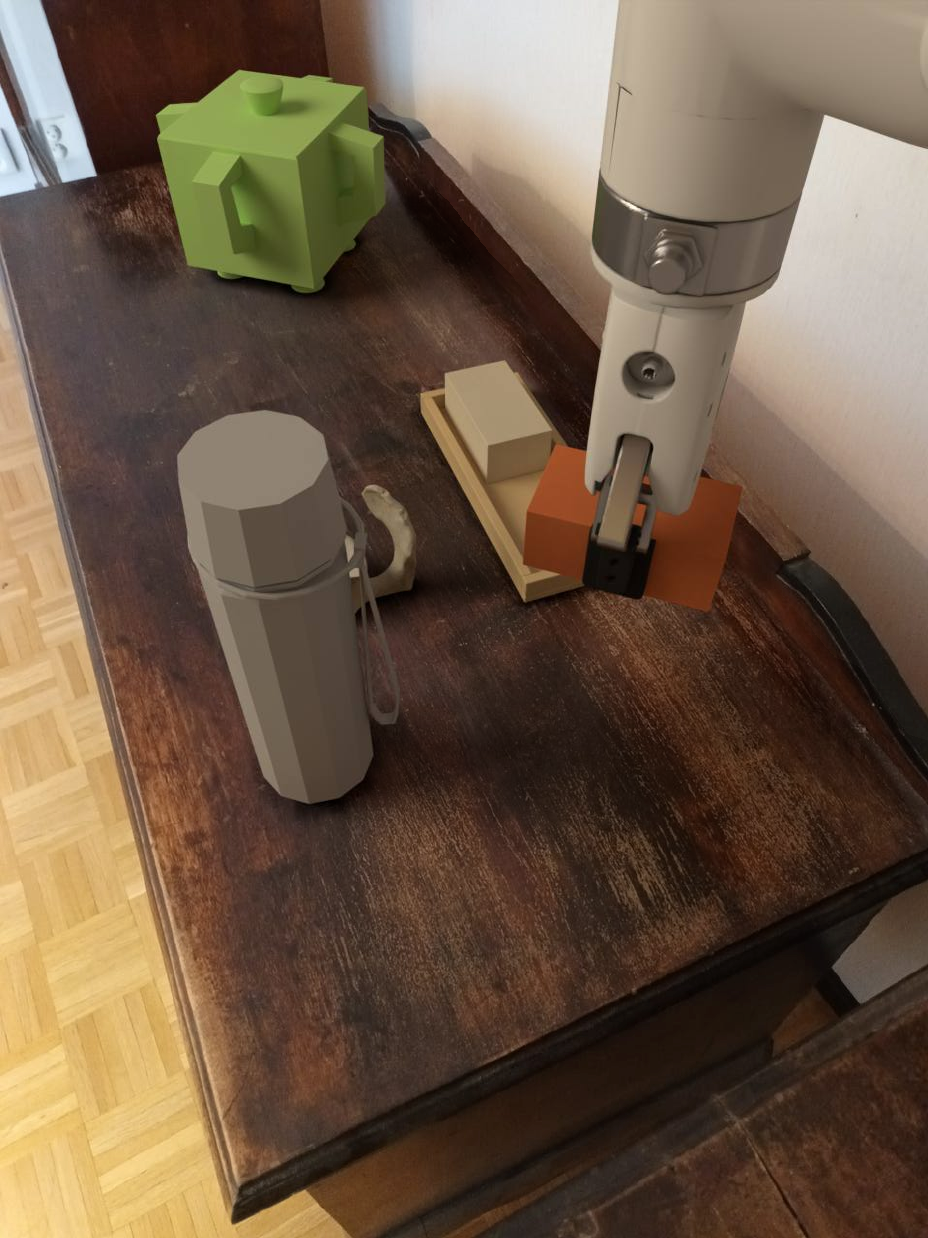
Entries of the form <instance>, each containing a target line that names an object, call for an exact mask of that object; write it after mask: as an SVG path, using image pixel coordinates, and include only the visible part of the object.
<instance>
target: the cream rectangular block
mask: <svg viewBox="0 0 928 1238" xmlns="http://www.w3.org/2000/svg"><path fill="white" fill-rule="evenodd" d="M514 373H515V372H514V371H513V370H512V368H511V367H510V365H509V364H508V363H507V361H506V359H505V360H500V361H499V360H498V361H495V362H491V363H486V364H482V365H476V366H472V367H467V368H462V369H459V370H458V369H457V370H453V371H448V372H445V373H444V388H445V412H446V414H447V415H448V417H449V419H450V421H451V422H452V424H453V426H454V428H455V429H456V431H457V433H458V435H459V436H460V438H461V440H462V442H463V443H464V445H465V447H466V449H467V450H468V452H469V454H470V456H471V457H472V459H473V461H474V463H475V464H476V466H477V468H478V470H479V471H480V473H481V475H482V477H483V478H484V480H485V482H486V484H488V483H492V482H496V481H500V480H504V479H508V478H512V477H516V476H520V475H524V474H528V473H532V472H536V471H540V470H544V469H545V468H546V466H547V464H548V461H549V459H550V449H551V439H552V429H551V427H550V426H549V424H548V423H547V422H546V420H545V419H544V417H543V416H542V414H541V413H540V411H539V410H538V408H537V407H536V405H535V404H534V402H533V401H532V399H531V398H530V396H529V395H528V393H527V392H526V390H525V389H524V388H523V386H522V385H521V383H520V382H519V380H518V379H517V377H516V376H515V374H514Z"/></svg>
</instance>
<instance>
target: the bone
mask: <svg viewBox="0 0 928 1238" xmlns="http://www.w3.org/2000/svg"><path fill="white" fill-rule="evenodd" d="M361 496H362V499H363V500H364V502H365V504H366V506H367V508H368V509H369V511H370V512H371V514H372V515H373V516H374V517H375V518H376V519H377V520H379V521H380V522H382V523H383V525H385V527H386V528H387V529H388V531H389V533H390V535H391V538H392V541H393V546H394V555H393V559H392V562H391V563H390V565H389V566H388V568H387V569H386V570H385V571H383V572H382V573H381V574H379V575H377V576H374V577H369V580H370V583H371V587H372V591H373V594H374V598H375V599H376V598H377V599H378V598H381V597H384V596H389V595H393V594H396V593H401V592H404V591H405V592H407V591H411V590H412V588H413V583H414V579H415V574H416V568H417V567H416V566H417V554H416V553H417V549H416V548H417V547H416V546H417V534H416V532H415V529H414V526H413V523H412V522H411V519H410V517H409V513H408V511H407V510H406V508H405V507H404V505H403V504H402V503H400V502H399V501H398V500H396V499H395V498H393V496H392V495H391V493H390V492H389V490H387V489H386V488H384V487H382V486H380V485H377V484H369V485H367V486H366V487H365V488H364V489H363V491H362V492H361ZM354 541H355V538H353V537H351V536H349V535H348V534H346V539H345V545H346V551H347V558H348V562H349V560H350V559H351V557H352V556H353V554H354V548H353V547H354ZM364 562H365V566H366V569H367V570H368V561H367V558H366V556H365V557H364ZM349 574H350V581H351V589H352V596H353V604H354V611H355V614H357V612H358V610H360V608H361V596H360V581H359V568H354V569H353V570H351V571H350V572H349ZM363 584H364V596H365V604H366V603H368V602H370V601H369V597H368V593H367V590H366V586H365V582H364V579H363Z"/></svg>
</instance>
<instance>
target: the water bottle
mask: <svg viewBox="0 0 928 1238" xmlns="http://www.w3.org/2000/svg"><path fill="white" fill-rule="evenodd" d="M176 460H177V461H176V462H177V463H176V464H177V479H178V486H179V492H180V493H179V494H180V499H181V503H182V509H183V516H184V520H185V527H186V531H187V548H188V551H189V554H190V557H191V560H192V562H193V563H194V564H195V566H196V569H197V571H198V575H199V579H200V582H201V585H202V588H203V591H204V594H205V598H206V601H207V604H208V607H209V610H210V613H211V616H212V619H213V623H214V626H215V629H216V633H217V635H218V639H219V641H220V646H221V647H222V651H223V653H224V654H223V655H224V658H225V660H226V664H227V667H228V670H229V672H230V676H231V679H232V683H233V685H234V688H235V692H236V695H237V697H238V701H239V705H240V707H241V711H242V714H243V716H244V720H245V723H246V726H247V729H248V732H249V735H250V738H251V742H252V746H253V748H254V751H255V754H256V757H257V760H258V764H259V766H260V770H261V774H262V777H263V778H264V779H265V780H266V781H267V782H268V783H269V784H270V786H271V787H272V788H273V789H274V790H275V791H276V792H277V793H278V795H280V797H283V798H287V799H290V800H294V801H297V802H299V803H300V802H301V803H304V804H308V805H311V804H312V805H313V804H316V803H321V802H325V801H330V800H331V801H332V800H336V799H340V798H341V797H343V796H344V795H345V794H346V793H348V792H349V791H350V790H352V789H353V788H354V787H356V786H357V785H358V784H360V783H361V782H362V781H363V780H365V779H364V778H365V776H366V774H367V772H368V769H369V766H370V765H371V762H372V760H373V758H374V748H373V741H372V734H371V725H370V718H369V717H370V716H369V713H370V715H371V716H372V717H373V719H374V721H376V722H377V723H379V724H380V725H395V724H396V722H397V719H398V717H399V711H400V694H401V688H400V687H401V686H400V683H399V681H398V676H397V673H396V669H395V666H394V663H393V660H392V656H391V653H390V652H391V651H390V647H389V644H388V641H387V638H386V637H387V636H386V634H385V631H384V627H383V624H382V620H381V616H380V612H379V609H378V606H377V601H376V598H374V594H373V591H372V587H371V583H370V580H369V578H370V576H369V573H368V569H366V566H365V562H364V557H365V558H366V550H367V549H366V548H367V543H368V542H367V540H368V536H369V535H368V534H369V533H367V532H365V523H364V521H363V520H362V519H361V517H360V516H359V514H358V513H357V511H356V510H355V508H354V506H353V505H352V504H351V503H349V502H348V501H347V500H345V499H344V498H342V497H341V496H340V494H339V490H338V487H337V482H336V479H335V474H334V471H333V468H332V464H331V460H330V455H329V452H328V449H327V444H326V441H325V437H324V434H323V433H322V432H320V431H319V430H317V429H316V428H315V427H314V426H312V425H311V424H310V423H308V422H307V421H306V420H304V418H302V417H301V416H297V415H293V414H287V413H282V412H277V411H272V410H267V409H264V410H263V409H262V410H256V411H255V410H254V411H249V412H241V413H233V414H227V415H225V416H223V417H221V418H219V419H217V420H215V421H214V422H211V423H210V424H207V425H205V426H203V427H202V428H199V429H198V430H195V431H194V433H193V434H192V435H191V437H190V438H189V439H188V440H187V442H186V443H185V444H184V446H183V447H182V448H181V450H180V451H179V452H178V454H177V455H176ZM343 509H344V510H345V512H346V513H347V514H348V515H349V516H350V518H351V520H352V521H353V524H354V525H355V530H356V532H355V534H354V540H355V541H354V547H353V548H354V554H353V556H352V557H351V559H350V560H349V562H348V558H347V551H346V545H345V539H346V535H347V531H348V529H347V524H346V519H345V516H344V511H343ZM354 568H359V581H360V596H361V607H360V608H361V609H360V611H361V623H362V639H363V652H364V654H363V655H364V666H365V668H364V669H365V680H366V689H365V680H364V673H363V665H362V658H361V657H362V656H361V651H360V650H361V649H360V643H359V642H360V641H359V635H358V628H357V620H356V613H355V611H354V604H353V596H352V589H351V581H350V574H349V572H350V571H351V570H353V569H354ZM363 579H364V582H365V586H366V590H367V593H368V597H369V601H368V602H369V604H370V608H371V611H372V615H373V619H374V622H375V626H376V630H377V633H378V637H379V641H380V644H381V648H382V652H383V655H384V660H385V662H386V666H387V670H388V675H389V677H390V682H391V686H392V688H393V692H394V695H395V700H396V701H395V706H394V709H393V712H385V713H382V712H381V711H380V710H379V708H378V707H377V705H376V704H375V703H374V694H373V693H374V692H373V681H372V669H371V658H370V657H371V655H370V644H369V634H368V622H367V621H368V620H367V610H366V609H367V608H366V603H365V596H364V584H363ZM366 694H367V695H366ZM368 709H369V711H368Z"/></svg>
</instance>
